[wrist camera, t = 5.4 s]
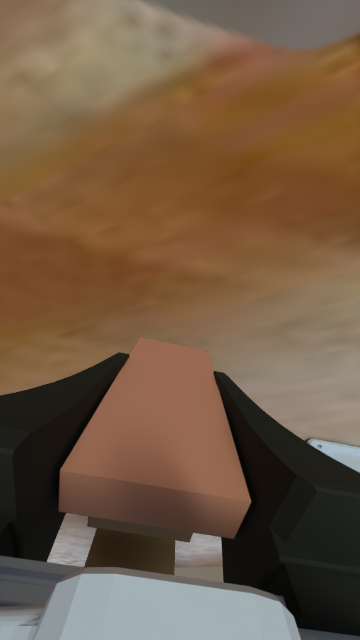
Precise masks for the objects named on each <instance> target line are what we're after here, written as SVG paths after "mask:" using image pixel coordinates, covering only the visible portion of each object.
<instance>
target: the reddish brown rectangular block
mask: <svg viewBox="0 0 360 640" xmlns="http://www.w3.org/2000/svg"><path fill="white" fill-rule="evenodd" d="M213 373H214V372H213V368H212V365H211V361H210V358H209V354H208V351H206V350H200V349H195V348H190V347H185V346H180V345H175V344H170V343H165V342H160V341H155V340H150V339H145V338H140V339H139V340H138V342H137V344H136V345H135V347H134V349H133V350H132V352H131V354H130V355H129V358H128V360H127V361H126V363H125V365H124V366H123V368H122V369H121V370H120V372H119V373H118V375H117V377H116V378H115V380H114V382H113V383H112V385H111V387H110V388H109V390H108V392H107V393H106V395H105V397H104V398H103V400H102V402H101V403H100V405H99V407H98V408H97V410H96V411H95V413H94V415H93V416H92V418H91V420H90V421H89V423H88V425H87V426H86V428H85V430H84V431H83V433H82V435H81V436H80V438H79V440H78V441H77V443H76V445H75V446H74V448H73V450H72V451H71V453H70V455H69V456H68V458H67V460H66V461H65V463H64V464H63V466H62V468H61V469H60V486H59V512H65V513H71V514H78V515H84V516H90V517H97V518H103V519H110V520H116V521H122V522H129V523H135V524H142V525H148V526H154V527H161V528H167V529H174V530H180V531H187V532H193V533H199V534H206V535H212V536H219V537H225V538H231V539H234V538H235V535H236V533H237V531H238V529H239V527H240V525H241V523H242V521H243V518H244V516H245V514H246V512H247V510H248V508H249V506H250V504H251V499H250V496H249V492H248V489H247V485H246V482H245V478H244V475H243V472H242V468H241V465H240V461H239V458H238V454H237V451H236V447H235V444H234V441H233V437H232V434H231V430H230V427H229V423H228V420H227V416H226V413H225V410H224V406H223V403H222V399H221V396H220V392H219V389H218V386H217V384H216V381H215V377H214V374H213Z"/></svg>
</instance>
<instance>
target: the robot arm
mask: <svg viewBox="0 0 360 640" xmlns="http://www.w3.org/2000/svg"><path fill="white" fill-rule="evenodd" d="M129 355H130V354H124V353H117V354H115V355H113V356H111V357H110V358H108V359H106V360H104V361H102V362H100V363H98V364H96V365H94V366H92V367H90V368H88V369H86V370H84V371H82V372H79V373H77V374H75V375H72V376H70V377H67V378H64V379H61V380H59V381H56V382H53V383H49V384H46V385H42V386H39V387H35V388H32V389H28V390H24V391H20V392H16V393H11V394H6V395H1V396H0V640H360V447H355V446H349V445H344V444H338V443H333V442H328V441H322V440H317V439H310V440H308V441H307V442H305V441H304V440H302V439H301V438H299V437H298V436H296V435H295V434H293V433H292V432H290V431H289V430H288V429H286V428H285V427H283V426H282V425H281V424H279V423H278V422H277V421H276V420H274V419H273V418H272V417H270V416H269V415H268V414H267V413H266V412H264V411H263V410H262V409H261V408H260V407H259V406H258V405H256V404H255V403H254V402H253V401H252V400H251V399H250V398H249V397H248V396H247V395H246V394H245V393H244V392H243V391H242V390H241V389H240V388H239V387H238V386H237V385H236V384H235V383H234V382H233V381H232V380H231V379H230V378H229V377H228V376H227V375H226V374H225V373H222V372H217V371H214V373H213V374H214V377H215V381H216V384H217V386H218V389H219V392H220V396H221V399H222V403H223V406H224V410H225V413H226V416H227V420H228V423H229V427H230V430H231V434H232V437H233V441H234V444H235V447H236V451H237V454H238V458H239V461H240V465H241V468H242V472H243V475H244V478H245V482H246V485H247V489H248V492H249V496H250V499H251V504H250V506H249V508H248V510H247V512H246V514H245V516H244V518H243V521H242V523H241V525H240V527H239V529H238V531H237V533H236V535H235V538H234V539H231V538H225V537H221V539H222V557H223V579H224V583H222V582H215V581H208V580H201V579H195V578H188V577H181V576H174V575H167V574H161V573H154V572H147V571H140V570H133V569H126V568H119V567H87V568H83V567H76V566H69V565H62V564H55V563H48V562H47V559H48V557H49V554H50V552H51V549H52V546H53V544H54V541H55V539H56V536H57V534H58V531H59V529H60V526H61V524H62V521H63V519H64V516H65V514H66V513H65V512H59V486H60V469H61V468H62V466H63V464H64V463H65V461H66V460H67V458H68V456H69V455H70V453H71V451H72V450H73V448H74V446H75V445H76V443H77V441H78V440H79V438H80V436H81V435H82V433H83V431H84V430H85V428H86V426H87V425H88V423H89V421H90V420H91V418H92V416H93V415H94V413H95V411H96V410H97V408H98V407H99V405H100V403H101V402H102V400H103V398H104V397H105V395H106V393H107V392H108V390H109V388H110V387H111V385H112V383H113V382H114V380H115V378H116V377H117V375H118V373H119V372H120V370H121V369H122V368H123V366H124V365H125V363H126V361H127V360H128V358H129Z"/></svg>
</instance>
